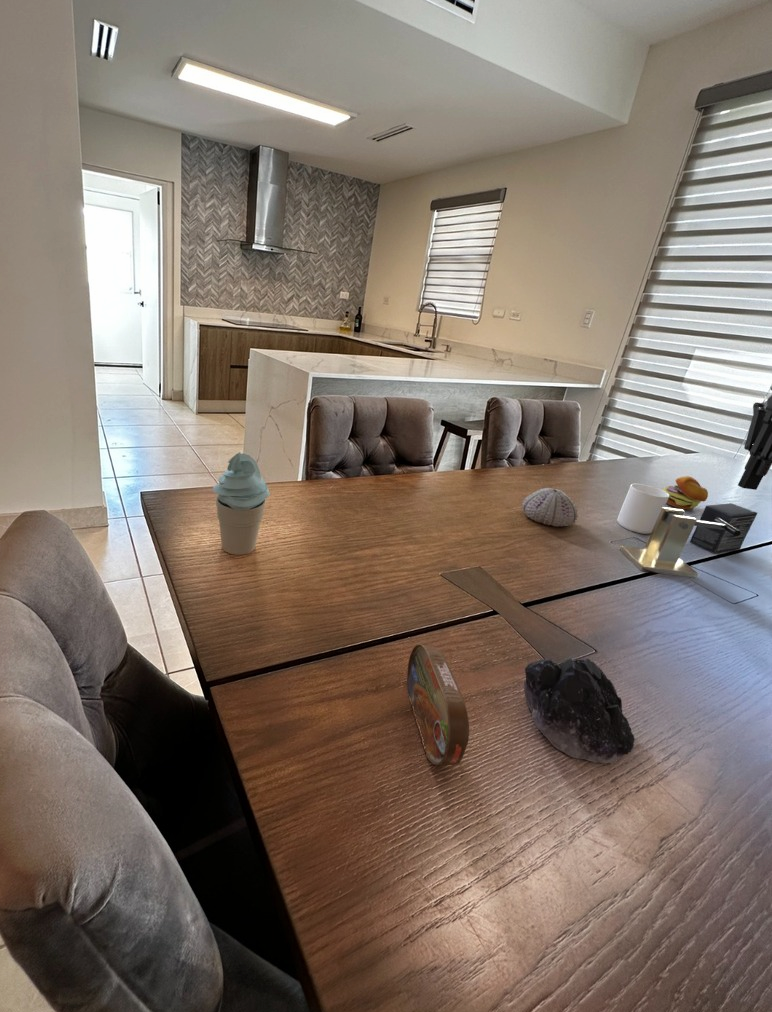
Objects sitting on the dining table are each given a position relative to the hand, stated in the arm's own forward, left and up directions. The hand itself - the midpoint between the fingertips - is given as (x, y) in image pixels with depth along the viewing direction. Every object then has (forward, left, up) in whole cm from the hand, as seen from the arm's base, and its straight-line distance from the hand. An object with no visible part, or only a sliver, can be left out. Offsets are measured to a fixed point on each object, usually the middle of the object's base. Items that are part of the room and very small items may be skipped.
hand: (746, 487), depth 98 cm
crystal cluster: (+39, +60, -21) cm, 74 cm away
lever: (+6, +1, -11) cm, 12 cm away
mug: (+9, -19, -21) cm, 30 cm away
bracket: (+11, +3, -20) cm, 23 cm away
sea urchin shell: (+33, -10, -21) cm, 40 cm away
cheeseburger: (-10, -45, -21) cm, 51 cm away
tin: (+57, +68, -21) cm, 90 cm away
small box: (-8, -16, -21) cm, 28 cm away
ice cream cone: (+97, +40, -21) cm, 106 cm away
